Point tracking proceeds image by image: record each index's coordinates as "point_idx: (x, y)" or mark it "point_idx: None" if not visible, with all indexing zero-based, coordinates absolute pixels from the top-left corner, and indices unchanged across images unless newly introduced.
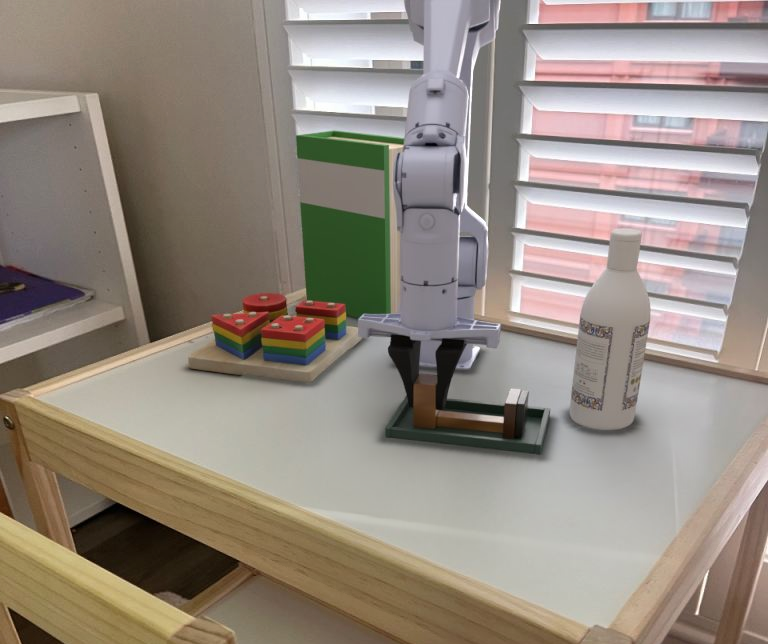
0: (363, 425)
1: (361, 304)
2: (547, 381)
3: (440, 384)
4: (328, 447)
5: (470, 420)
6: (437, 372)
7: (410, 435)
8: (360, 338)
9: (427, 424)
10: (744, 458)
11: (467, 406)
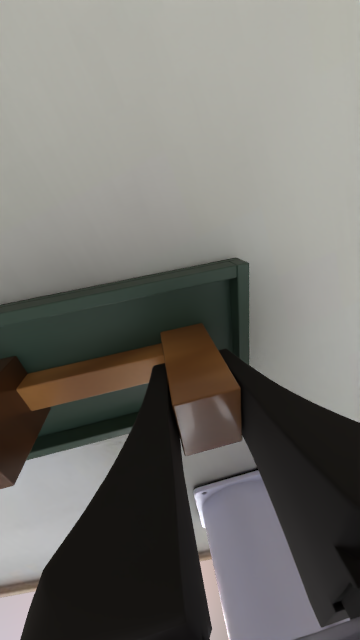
0: (291, 297)
1: None
2: None
3: (157, 413)
4: (343, 171)
5: (92, 370)
6: (168, 450)
7: (188, 271)
8: None
9: (175, 332)
10: None
11: None
